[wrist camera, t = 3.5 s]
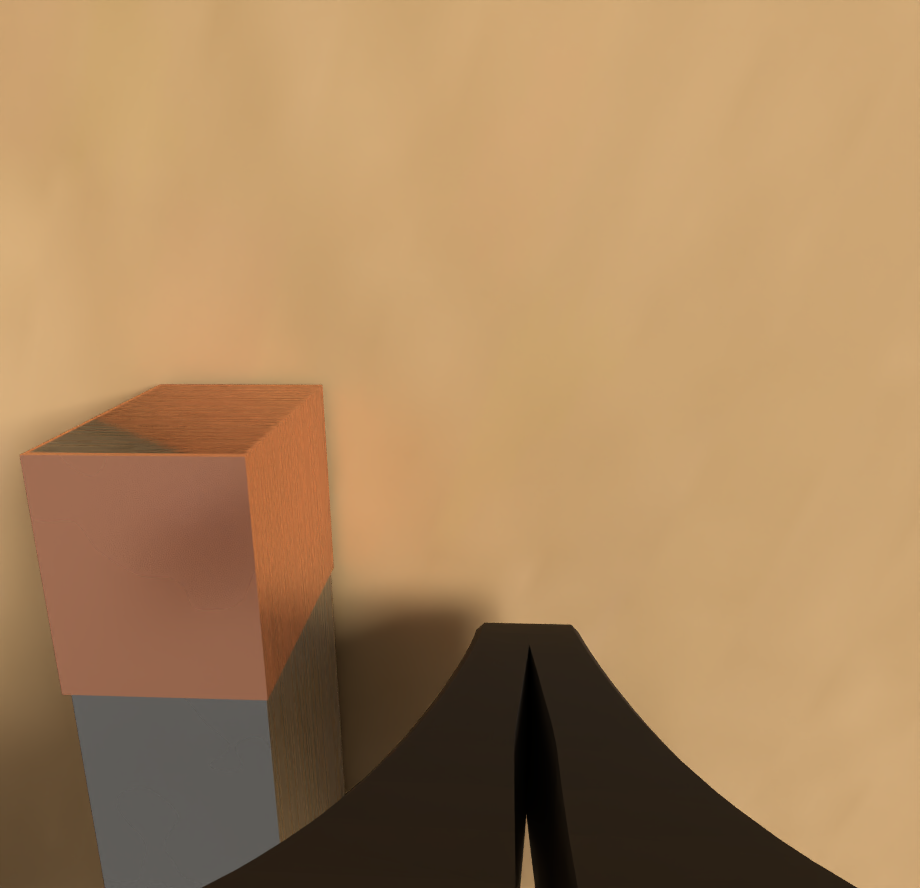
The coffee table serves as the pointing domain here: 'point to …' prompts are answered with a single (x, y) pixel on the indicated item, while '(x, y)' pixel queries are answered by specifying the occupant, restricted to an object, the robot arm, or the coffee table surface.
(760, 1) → the coffee table surface
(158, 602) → the bar
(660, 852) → the robot arm
